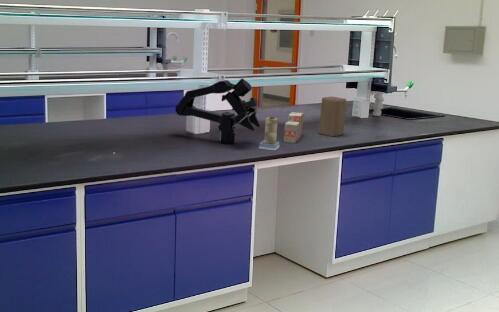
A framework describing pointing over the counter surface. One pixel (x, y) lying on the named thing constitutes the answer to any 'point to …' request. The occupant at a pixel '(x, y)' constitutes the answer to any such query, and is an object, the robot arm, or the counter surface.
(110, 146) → the counter surface
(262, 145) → the blue square tray
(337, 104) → the block
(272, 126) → the maple pillar block
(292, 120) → the stack of blocks
